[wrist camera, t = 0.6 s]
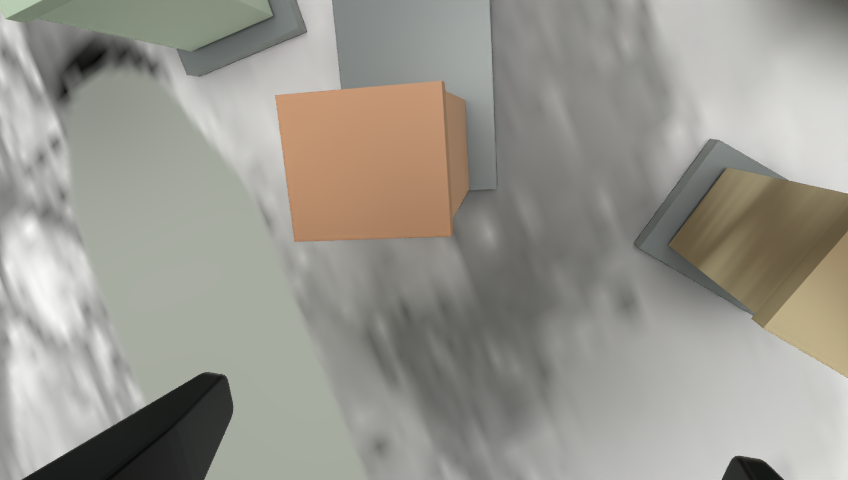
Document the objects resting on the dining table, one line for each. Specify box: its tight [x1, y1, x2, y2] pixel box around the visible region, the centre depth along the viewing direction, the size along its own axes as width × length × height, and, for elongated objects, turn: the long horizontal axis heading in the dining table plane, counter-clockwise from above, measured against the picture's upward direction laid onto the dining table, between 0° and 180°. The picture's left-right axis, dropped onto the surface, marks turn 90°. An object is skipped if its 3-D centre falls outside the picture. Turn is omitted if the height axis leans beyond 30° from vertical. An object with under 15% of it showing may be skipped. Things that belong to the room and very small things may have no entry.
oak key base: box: [634, 139, 789, 316], centre depth 22 cm, size 6×6×1 cm
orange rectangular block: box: [275, 81, 469, 242], centre depth 19 cm, size 4×5×9 cm
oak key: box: [669, 167, 848, 378], centre depth 17 cm, size 4×5×9 cm
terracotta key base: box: [332, 0, 497, 190], centre depth 23 cm, size 9×7×1 cm
